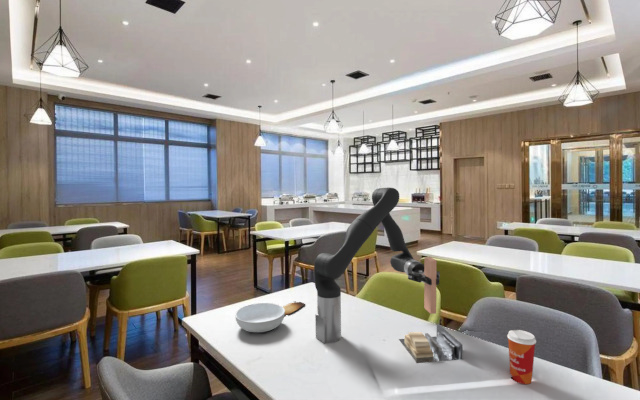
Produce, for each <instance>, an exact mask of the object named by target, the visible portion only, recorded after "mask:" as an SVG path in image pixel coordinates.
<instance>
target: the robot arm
mask: <svg viewBox="0 0 640 400" xmlns="http://www.w3.org/2000/svg"><path fill="white" fill-rule="evenodd" d="M371 201H372V205H373V207H371V208H369V209H368V210H365V211H364V212H362V213H361V214H359V215H358V216H356V218H355V219H354V220H353V221H352V222H351V223H350V224H349V226H348V227H347V229H346V231H345V239H344V242H343V244H342V246H341V247H340V248H339V250H338V251H337V252H336V253H335V254H332V253H328V252H322V253H319V254H318V255H317V256H316V258H315V260H314V264H313V270H314V271H313V273H314V286H315V289H316V296H317V298H316V299H317V301H316V302H317V307H316V308H317V313H315V317H314V318H315V338H316V339H317V340H318V341H320V342H322V343H323V344H327V343H336V342H338V341H340V340H341V339H342V305H341V304H342V298H341V297H342V292H341V291H342V289H341V287H340V285H338V282H336V281H335V280H337V279H339V278H341V277H342V276H343V275H344V273H345V271H346V270H347V269H348V267H349V265H350V264H351V262H352V260H353V259H354V257H355V256H356V254H357V253H358V251H359V250H361V247H362V246H363V245H364V244H365V243H366V241H367V240H368V239H369V238H370V236H371V235H372V234H373V233H374V231H375V230H376V229H377V228H378V226H379V225H380V224H382V226H383V229H384V231H385V234H386V237H387V240H388V244H389V248H390V250H391V251H392V252H401V253H398V254H395V255H393V256H392V257H391V258H390V266H391V268H393V270H395V271H396V272H400V273H405V274H406V276H407V280H410V281H413V282H417V283H418V284H419V283H423V284H424V283H427V284H428V285H432V280H431V279H430V278H428V277H426V275H425V274H424V264H423V263H422V262H421V261H418V260H416V259H415V258H414V257H413V255H412V254H411V252H410V251H409V249H408V246H407V245H406V243H405V238H404V234H403V232H402V229H401V227H400V226H399V225H398V223H397V222H396V221H395V219H394V218H393V217H392V215H391V214H390V213H391V212H392V211H393V210H394V209H395V208H396V207H397V205H398V204H399V202H400V192H399V191H398V190H397V189H396V188H394V187H380V188H376V189H374V190H373V192H372V194H371ZM440 273H441V272H440V271H437V270H436V286H439V284H440V279H441V278H440Z"/></svg>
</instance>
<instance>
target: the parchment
mask: <svg viewBox="0 0 640 400" xmlns="http://www.w3.org/2000/svg"><path fill="white" fill-rule="evenodd" d="M305 305H306V304H305V302H301V301H299V302H297V301H295V300H294V301H293V302H290V303H288V304H285V305H282V307H283V308H284V309H285V315H284V317H287V316H286V315H288V316H289V315H291V314H292V313H294V312H296V311H298V310H299V309H301V308H302V307H304V306H305Z"/></svg>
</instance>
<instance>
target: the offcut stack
mask: <svg viewBox="0 0 640 400" xmlns="http://www.w3.org/2000/svg"><path fill="white" fill-rule="evenodd" d="M403 339H404V343H405V344H406V345H407V347H408V348H409V349H410V351H411V352H412V353H413V354H414V356H415V357H416V358H423V357H433V351H432V350H431V349H430V344H429V341H428V340H427V339H426V337H425V334H424V333H423V332H422V331H410V332H409V331H408V334H404V338H403Z"/></svg>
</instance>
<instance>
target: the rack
mask: <svg viewBox="0 0 640 400" xmlns="http://www.w3.org/2000/svg"><path fill="white" fill-rule="evenodd" d="M424 336H425V337H426V339H427V340H428V341H429V344H430V349H431V350H432V351H433V357H423V358H416V357H415V356H414V354H413V353H412V352H411V351H410V349H409V348H408V347H407V345H406V344H405V343H404V338H398V341H400V344H401V345H402V346H403V347H404V348H405V350H406V351H407V352H408V353H409V355H410V357H412V359H413V360H414V361H415V363H416V364H422V363H425V364H426V363H435V362H449V361H458V360H459V361H461V360H463V358H464V357H463V343H461V342H460V341H459V340H458V339H457V338H456V337H454V336H453V335H452V334H451V333H450V332H449V331H448V330H446V329H445V328H444V327H443V326H442V325H441V324H439V323H437V324H436V336H431V335H430V334H429V333H428V332H425V333H424Z"/></svg>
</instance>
